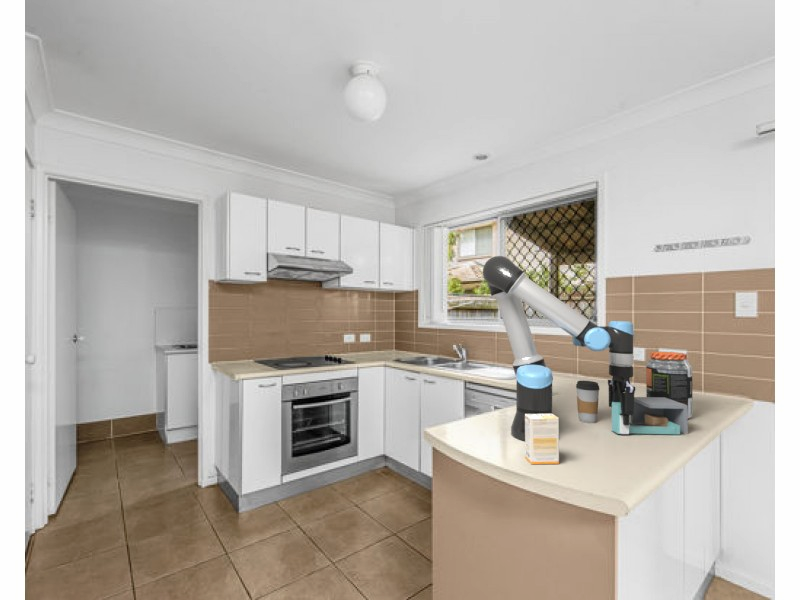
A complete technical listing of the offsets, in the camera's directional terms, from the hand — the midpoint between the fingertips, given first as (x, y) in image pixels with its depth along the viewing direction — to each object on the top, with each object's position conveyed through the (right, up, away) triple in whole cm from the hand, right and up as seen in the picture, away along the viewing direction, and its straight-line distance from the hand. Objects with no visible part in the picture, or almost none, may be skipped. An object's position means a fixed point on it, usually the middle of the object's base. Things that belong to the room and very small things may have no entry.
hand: (620, 431), depth 135 cm
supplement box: (-37, 0, -25) cm, 45 cm away
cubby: (+17, -1, +6) cm, 19 cm away
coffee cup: (-4, -1, +15) cm, 16 cm away
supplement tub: (+34, -2, +24) cm, 42 cm away
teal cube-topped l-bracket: (+9, 0, +3) cm, 10 cm away
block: (+15, -1, +5) cm, 16 cm away
